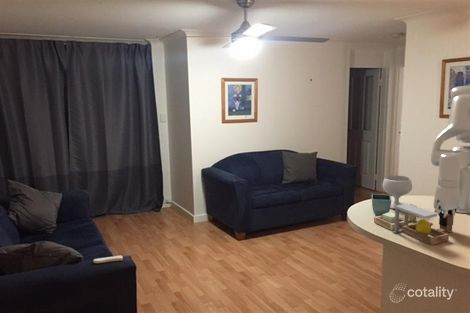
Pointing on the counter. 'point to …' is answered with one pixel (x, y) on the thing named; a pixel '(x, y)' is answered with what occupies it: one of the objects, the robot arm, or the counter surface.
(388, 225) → the sled
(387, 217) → the sage cube
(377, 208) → the flower pot
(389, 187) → the chalice
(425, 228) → the lemon
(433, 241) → the wooden handled tray
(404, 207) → the grey bench
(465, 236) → the counter surface
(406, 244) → the counter surface
